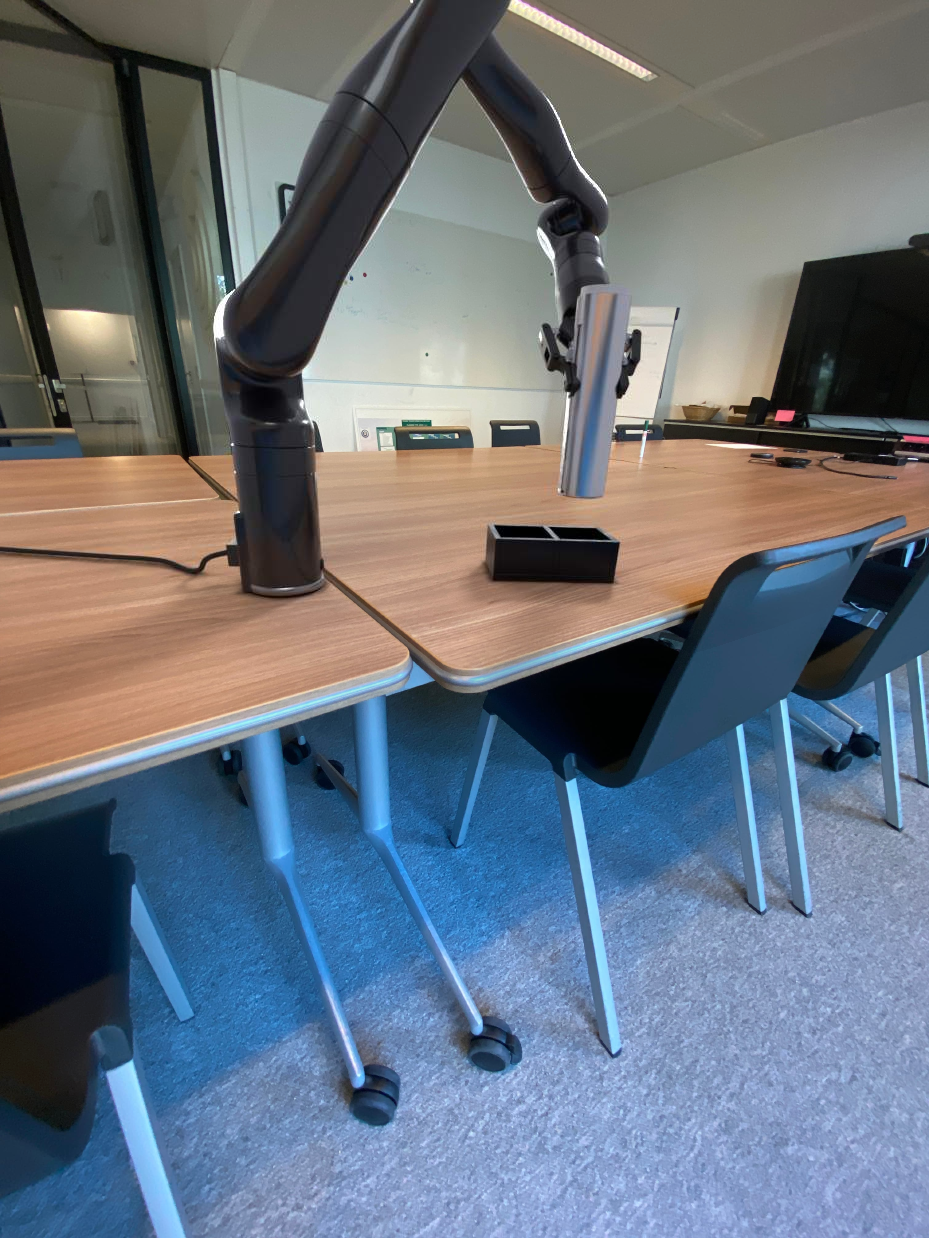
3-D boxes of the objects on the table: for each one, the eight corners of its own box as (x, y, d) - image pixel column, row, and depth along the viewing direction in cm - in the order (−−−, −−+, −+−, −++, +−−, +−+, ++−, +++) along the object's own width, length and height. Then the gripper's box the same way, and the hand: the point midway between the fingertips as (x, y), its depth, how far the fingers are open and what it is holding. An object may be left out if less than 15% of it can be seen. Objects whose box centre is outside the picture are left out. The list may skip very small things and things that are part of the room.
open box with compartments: (492, 580, 74) (495, 538, 72) (485, 561, 82) (487, 523, 80) (613, 583, 76) (620, 542, 73) (594, 564, 84) (599, 527, 82)
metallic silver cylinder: (604, 500, 71) (635, 282, 61) (555, 496, 72) (578, 282, 62) (603, 492, 77) (631, 292, 67) (558, 489, 78) (578, 291, 68)
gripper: (538, 269, 70) (549, 366, 64) (644, 277, 71) (664, 372, 65) (527, 320, 77) (536, 412, 71) (623, 326, 78) (640, 416, 72)
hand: (597, 392), depth 68 cm, fingers closed on metallic silver cylinder, 5 cm apart
